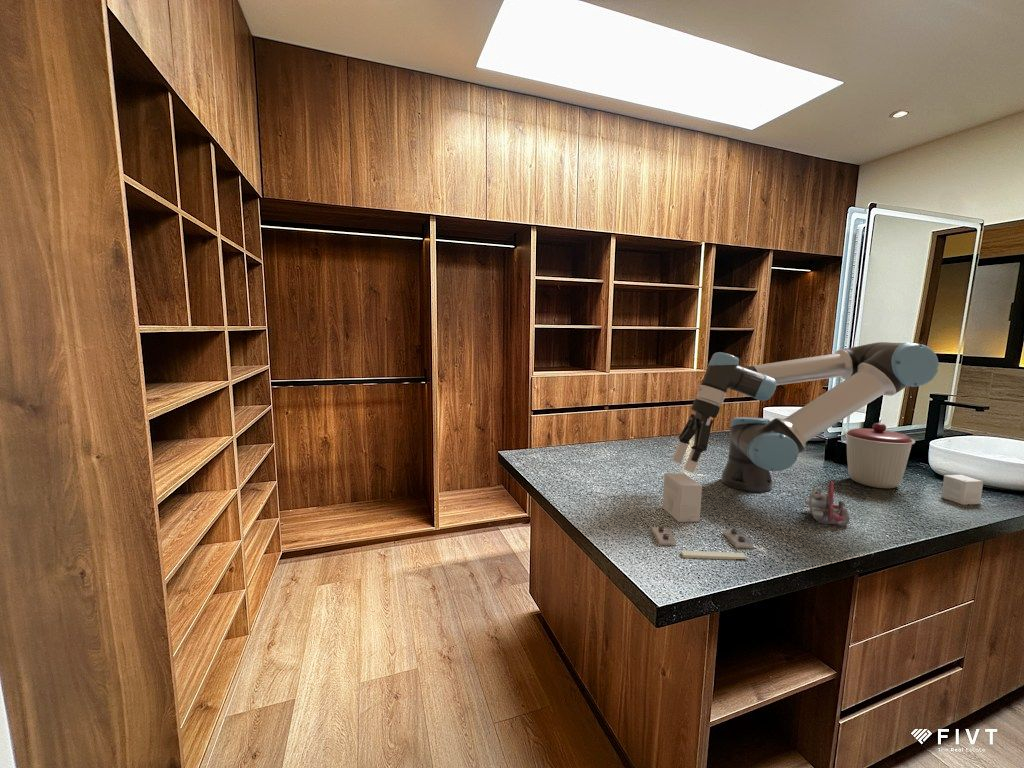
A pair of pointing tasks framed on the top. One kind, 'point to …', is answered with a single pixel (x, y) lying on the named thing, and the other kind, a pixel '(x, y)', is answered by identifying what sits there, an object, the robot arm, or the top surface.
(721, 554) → the cream long thin bar
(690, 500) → the skincare box
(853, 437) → the canister
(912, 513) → the top surface
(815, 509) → the grey red lumpy piece
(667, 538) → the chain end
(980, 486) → the skincare box
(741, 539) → the block
